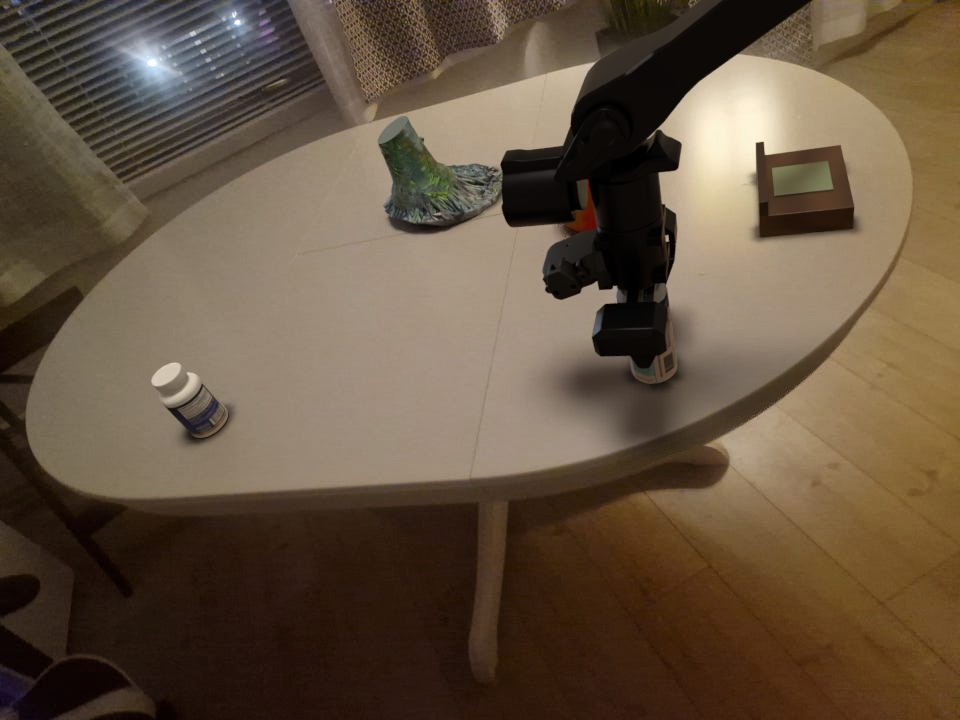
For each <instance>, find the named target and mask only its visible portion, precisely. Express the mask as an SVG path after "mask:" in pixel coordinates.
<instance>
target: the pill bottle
mask: <svg viewBox="0 0 960 720" xmlns="http://www.w3.org/2000/svg"><path fill="white" fill-rule="evenodd" d="M150 381H151V385H152V386H153V387H154V389H156V391H157V392H158V393H159V401H160V403H161V404H162V406H164V407H165V408H166V410H167V411H168V412H169V413H170V414H171V415H172V416H173V417H174V418H175V419H176V420H177V422H179V423H180V424H181V425H182V426H183V427H184V428H185V429H186V430H187V431H188V432H189V433H190V434H191V435H192V436H193V437H195V438H198V439H204V438H208V437H210V436H212V435H214V434H216V433H217V432H218V431H219V430H221V429H222V428H223V426H224V425H225V424H226V422H227V421H228V417H229V410H228V409H227V408H226V406H225V405H224V404H223V402H222V401H221V400H220V399H219V398H218V397H217V396H216V394H215V393H214V392H213V391H212V390H211V389H210V388H209V387H208V385H206V383H205V382H204V381H203V379H201V378H200V376H199V375H197V374H196V373H194V372H188V371H187V370H186V369H185V368H184V367H183V366H182V365H181V364H180V363H179V362H170V363H167V364H165V365H163V366H162V367H160V368H159V369H158V370H157V371H155V373H154V374H153V376H152V377H151V379H150Z"/></svg>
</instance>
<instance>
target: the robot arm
mask: <svg viewBox="0 0 960 720" xmlns="http://www.w3.org/2000/svg"><path fill="white" fill-rule="evenodd" d="M812 1H813V0H699V1H698V2H696V4H693V6H692V7H690V8H689V9H688V10H687V11H685V12H684V13H683V14H682V15H681V16H679V17H678V18H677V19H675V20H674V21H673V22H671V23H670V24H668V25H666V26H665V27H663V28H661V29H659V30H657V31H655V32H652V33H649V34H647V35H644V36H641V37H637V38H635V39H632V40H631V41H629V42H628V43H626V44H624V45H623V46H621V47H619V48H617V49H615V50H613V51H612V52H610V53H609V54H607V55H606V56H603V57H602V58H600V59H599V60H597V61H596V62H595V63H594V64H593V65H592V66H591V67H590V69H588V71H587V72H586V75H585V77H584V79H583V82H582V84H581V87H580V89H579V92H578V95H577V97H576V100H575V102H574V104H573V108H572V110H571V114H570V123H569V124H570V125H569V126H570V127H569V128H568V130H567V134H566V137H565V139H564V142H563V145H557V146H551V147H550V146H548V147H541V148H533V149H523V148H522V149H521V148H516V149H508V150H506V151H505V153H504V155H503V156H502V159H501V161H500V163H499V166H500V170H501V172H502V173H503V176H502V193H501V200H502V203H501V212H502V215H503V218H504V221H505V223H506V224H507V225H508V226H509V227H510V228H512V229H513V228H524V227H525V228H526V227H536V226H537V227H538V226H540V227H541V226H550V225H563V224H565V223H573V222H574V221H576V216H577V211H581V210H585V209H586V206H587V200H588V185H587V179H588V181H589V186H590V192H591V197H592V202H593V208H594V213H595V218H596V224H597V228H595V229H592V230H589V231H583V232H578V233H575V234H573V235H570V236H569V237H566V238H563V239H561V240H559V241H557V242H554V244H552V245H551V246H550V247H549V248H548V249H547V251H546V254H545V258H544V262H543V265H542V269H541V273H542V275H543V276H542V281H543V283H544V284H545V287H544V290H545V292H546V294H551V296H553V298H554V299H555V300H558V301H559V300H560V301H562V300H566V299H568V298H572V297H574V296H577V295H579V294H581V293H582V290H583V288H586V287H589V286H591V285H593V284H595V283H597V287H598V290H599V291H608V290H609V291H610V290H613V288H614V287H616V289H617V291H618V290H627V291H628V293H627V300H626V303H617V302H611V303H609V302H608V303H604V304H603V305H602V306H601V307H599V309H598V310H596V312H595V313H596V314H595V318H594V323H593V329H592V335H591V341H592V345H593V349H594V353H595V354H596V355H598V356H599V357H601V358H602V357H604V358H605V357H608V358H609V357H629V356H630V357H631V358H632V360H633V361H634V363H635V364H636V365H637V367H638V368H640V369H649V368H650V367H651V365H652V363H653V361H654V359H655V357H656V356H660V355H662V354H663V353H665V352H666V351H667V346H668V334H669V321H670V319H669V316H668V309H667V308H666V307H664V306H663V305H661V304H659V303H658V302H656V301H654V298H655V289H656V284H660V283H665V284H666V285H667V284H668V281H669V279H670V275H671V272H672V269H673V267H674V264H675V260H676V248H677V240H678V239H677V238H678V219H677V213H676V212H674V211H673V210H671V209H670V208H668V207H667V206H666V204H665V203H663V201H662V191H661V182H660V173H668V172H669V173H670V172H676V171H677V170H679V168H680V162H681V161H680V160H681V155H682V149H683V144H682V142H681V141H680V140H678V139H676V138H674V137H671V136H668V134H666V133H664V132H663V130H661V129H660V127H661V126H662V125H663V124H664V123H665V122H666V120H668V118H669V117H670V115H671V114H672V113H673V112H674V110H675V109H676V108H677V107H678V105H680V103H681V101H682V100H683V99H684V98H685V96H686V95H688V94H689V92H690V91H691V90H693V88H695V86H696V85H698V84H699V83H700V82H701V81H702V80H704V79H705V78H707V77H708V76H709V75H710V74H712V73H713V72H715V71H716V70H717V69H719V68H720V67H722V66H723V65H725V64H726V63H727V62H729V61H730V60H732V59H733V58H734V57H736V56H737V55H739V54H740V53H741V52H743V51H744V50H745V49H747V48H749V47H750V46H751V45H752V44H755V42H757V41H758V40H760V39H761V38H762V37H763V36H765V35H767V34H768V33H769V32H770V31H772V30H774V29H775V28H776V27H777V26H779V25H780V24H782V23H783V22H785V21H786V20H787V19H789V18H790V17H792V16H794V15H795V14H796V13H797V12H799V11H800V10H801V9H803V8H804V7H806V6H807V5H808V4H810V3H812ZM565 225H566V224H565ZM666 236H667V237H668V241H667V239H666ZM643 289H644V292H643V300H642V302H641V298H642V290H643Z"/></svg>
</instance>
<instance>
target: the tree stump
mask: <svg viewBox="0 0 960 720" xmlns="http://www.w3.org/2000/svg"><path fill="white" fill-rule="evenodd" d="M424 142H425V137H422V136H421V135H418V133H417V131H416V129H415V128H414V126H413V125H412V123H411V121H410V119H409V117H408V116H406V115H402V116H399V117H397V118H395V119H394V120H393V121H391V122H390V123H389V124H387V125H386V127H385V128H384V129H383V130H382V131H381V133H380V134H379V136H378V139H377V144H378V147H379V150H380V153H381V155H382V156H383V159H384V162H385V164H386V167H387V168H388V172H389V174H390V177H391V181H392V185H391V188H390V189H391V191H390V194H391V195H390V196H389V197H388V198H386V200H384V202H383V204H382V207H383V208H384V209H385V210H384V212H385V213H386V214H387V215H389V216H390V217H391V218H392V219H398V220H400V221H403V222H406V223H409V224H414V225H417V226H418V225H420V226H431V227H449V226H452V225H457V224H460V223H462V222H464V221H467V220H469V219H472V218H474V217H476V216H478V215H480V214H481V213H482V212H483V211H485V210H486V209H487V208H489V207H491V206H492V205H494V204H495V203H496V202H497V201H498V199H499V198H500V196H501V195H502V176H503V173H502V171H500V170H499V169H498V168H495V167H494V166H490V165H489V166H488V165H484V164H480V163H469V164H467V165H466V164H463V165H462V164H461V165H460V164H459V165H457V164H452V165H446V164H445V163H443V162H438V161H437V160H436V159H435V158H434V156H433V155H432V153H431V152H430V151H429V149H428V147H427V146H426V144H425V143H424Z"/></svg>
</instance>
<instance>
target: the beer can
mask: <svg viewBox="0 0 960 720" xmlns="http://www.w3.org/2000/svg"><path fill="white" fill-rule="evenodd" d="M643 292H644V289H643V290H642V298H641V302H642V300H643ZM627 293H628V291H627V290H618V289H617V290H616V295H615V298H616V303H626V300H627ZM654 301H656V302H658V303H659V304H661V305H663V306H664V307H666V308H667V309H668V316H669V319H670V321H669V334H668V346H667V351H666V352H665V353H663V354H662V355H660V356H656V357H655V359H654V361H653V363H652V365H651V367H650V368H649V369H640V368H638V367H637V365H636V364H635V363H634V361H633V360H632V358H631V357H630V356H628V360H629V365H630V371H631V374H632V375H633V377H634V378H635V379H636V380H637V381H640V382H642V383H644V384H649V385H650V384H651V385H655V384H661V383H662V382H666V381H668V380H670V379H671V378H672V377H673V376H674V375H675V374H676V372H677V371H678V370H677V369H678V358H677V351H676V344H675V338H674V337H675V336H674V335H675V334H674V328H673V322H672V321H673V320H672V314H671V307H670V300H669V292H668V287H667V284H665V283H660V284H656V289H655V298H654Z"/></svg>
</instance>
